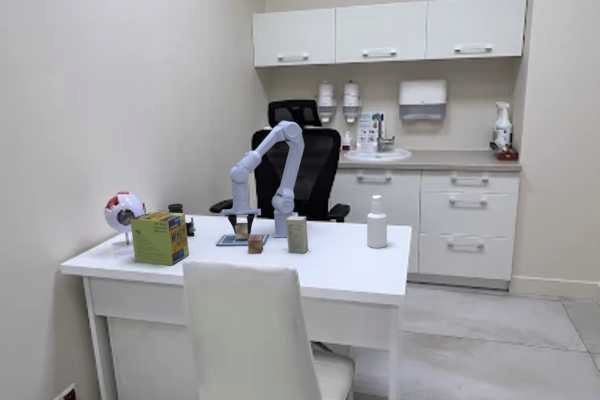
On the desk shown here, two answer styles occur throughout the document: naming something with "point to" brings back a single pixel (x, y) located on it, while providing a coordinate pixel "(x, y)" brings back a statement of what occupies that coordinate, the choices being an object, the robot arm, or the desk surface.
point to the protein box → (159, 237)
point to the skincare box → (297, 234)
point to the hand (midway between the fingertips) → (242, 233)
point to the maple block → (242, 231)
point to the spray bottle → (376, 224)
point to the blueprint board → (238, 240)
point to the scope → (178, 209)
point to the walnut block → (255, 244)
